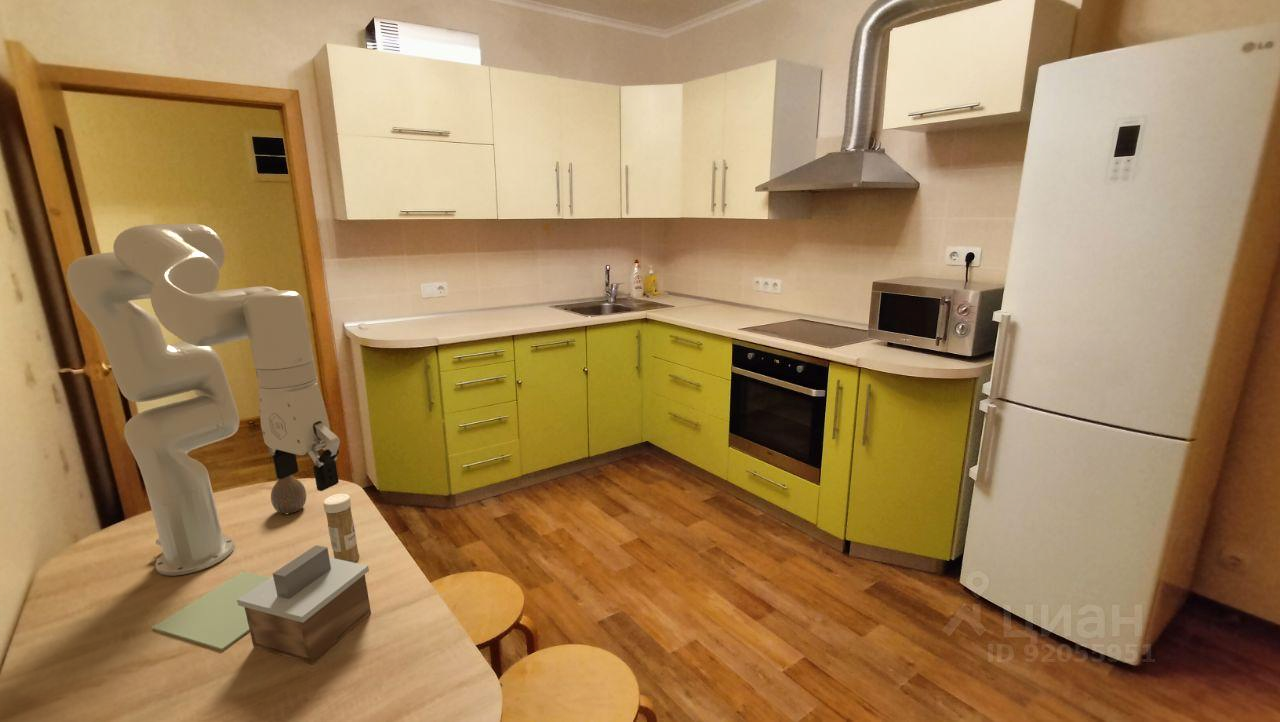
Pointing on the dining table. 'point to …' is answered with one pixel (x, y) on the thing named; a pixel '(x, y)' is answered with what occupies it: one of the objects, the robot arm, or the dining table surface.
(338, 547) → the sprinkles bottle
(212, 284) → the robot arm
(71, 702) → the dining table surface
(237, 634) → the mat
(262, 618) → the box
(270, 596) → the lid
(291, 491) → the vase
